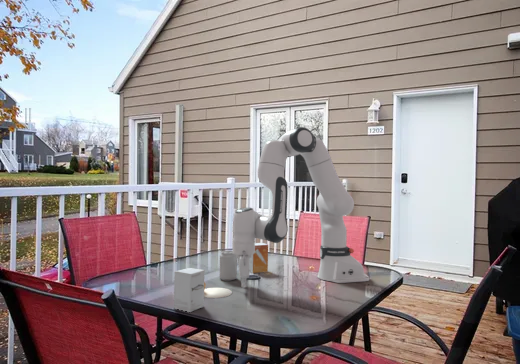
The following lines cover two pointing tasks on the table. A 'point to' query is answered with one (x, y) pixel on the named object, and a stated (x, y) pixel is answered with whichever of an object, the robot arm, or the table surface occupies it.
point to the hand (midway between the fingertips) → (243, 283)
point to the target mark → (216, 292)
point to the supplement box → (189, 289)
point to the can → (228, 266)
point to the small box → (259, 259)
